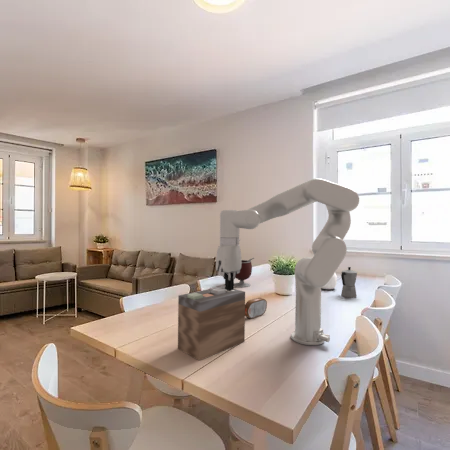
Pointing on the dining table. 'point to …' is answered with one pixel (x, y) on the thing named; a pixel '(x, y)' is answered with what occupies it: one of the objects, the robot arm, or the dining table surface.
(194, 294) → the sage key
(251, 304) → the tin
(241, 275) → the mate gourd
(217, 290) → the grey key
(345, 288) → the coffeepot
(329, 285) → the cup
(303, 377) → the dining table surface
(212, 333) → the console
